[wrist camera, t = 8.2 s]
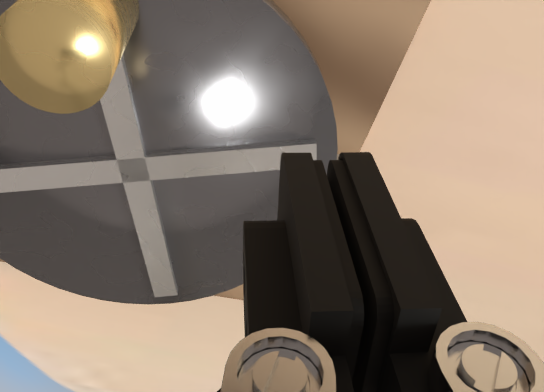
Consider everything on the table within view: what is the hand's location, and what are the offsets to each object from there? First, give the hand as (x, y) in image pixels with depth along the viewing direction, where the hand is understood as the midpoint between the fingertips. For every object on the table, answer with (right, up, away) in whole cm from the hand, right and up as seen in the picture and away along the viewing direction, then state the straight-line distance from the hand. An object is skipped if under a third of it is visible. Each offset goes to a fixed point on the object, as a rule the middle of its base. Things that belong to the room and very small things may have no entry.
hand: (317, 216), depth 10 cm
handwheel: (-7, +4, +15) cm, 17 cm away
